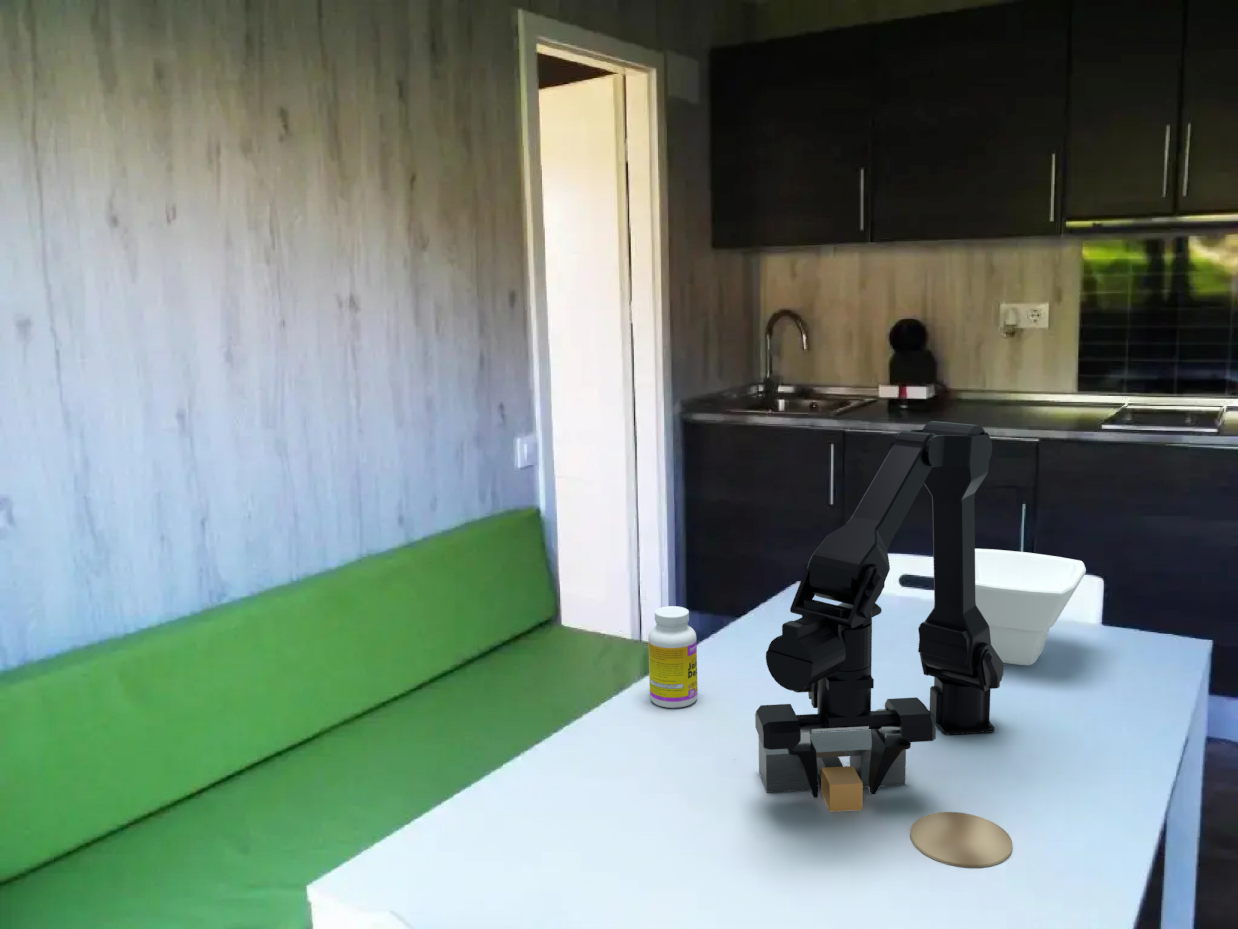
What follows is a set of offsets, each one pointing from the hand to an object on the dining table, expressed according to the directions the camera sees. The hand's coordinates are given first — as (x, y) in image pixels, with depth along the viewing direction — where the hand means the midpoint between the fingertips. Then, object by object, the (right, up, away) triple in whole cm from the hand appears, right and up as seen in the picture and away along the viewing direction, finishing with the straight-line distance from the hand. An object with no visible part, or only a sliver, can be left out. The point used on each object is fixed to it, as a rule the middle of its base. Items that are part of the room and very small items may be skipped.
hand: (843, 794), depth 117 cm
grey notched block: (0, 0, +6) cm, 6 cm away
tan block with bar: (0, 0, +5) cm, 5 cm away
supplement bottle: (-17, +4, +29) cm, 34 cm away
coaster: (+10, -2, -8) cm, 13 cm away
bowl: (+33, +8, +40) cm, 53 cm away
